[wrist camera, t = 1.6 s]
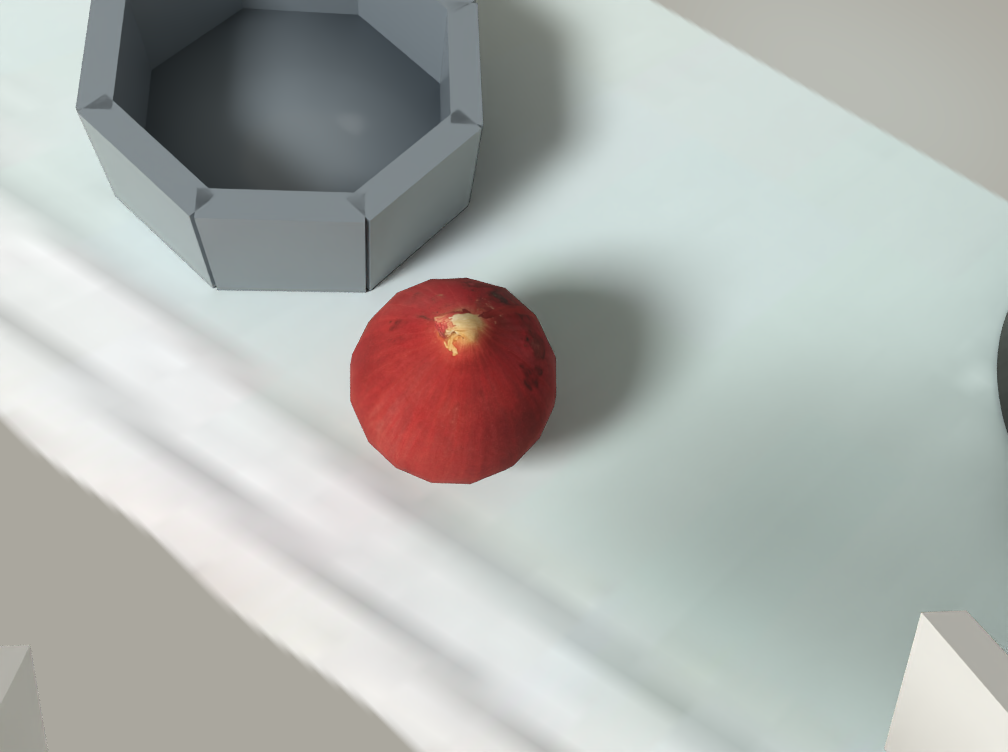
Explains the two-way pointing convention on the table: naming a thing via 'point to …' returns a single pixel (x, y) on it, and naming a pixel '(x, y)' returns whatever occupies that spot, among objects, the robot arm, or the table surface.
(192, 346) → the table surface
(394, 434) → the onion
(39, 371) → the table surface
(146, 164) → the grey octagonal bowl
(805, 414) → the table surface
